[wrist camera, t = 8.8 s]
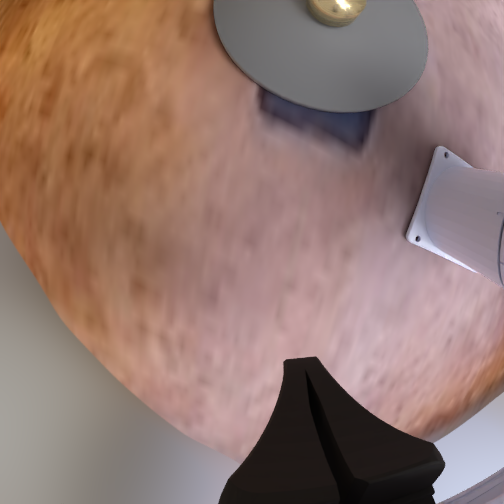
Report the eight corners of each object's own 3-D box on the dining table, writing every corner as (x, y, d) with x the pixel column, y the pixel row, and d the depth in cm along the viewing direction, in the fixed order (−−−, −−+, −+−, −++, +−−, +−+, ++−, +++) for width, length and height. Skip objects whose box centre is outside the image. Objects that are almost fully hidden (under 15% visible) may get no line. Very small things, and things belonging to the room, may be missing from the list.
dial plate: (431, -1, 14) (437, -6, 13) (397, 149, 18) (405, 149, 17) (255, -69, 12) (255, -77, 11) (182, 72, 17) (178, 67, 16)
